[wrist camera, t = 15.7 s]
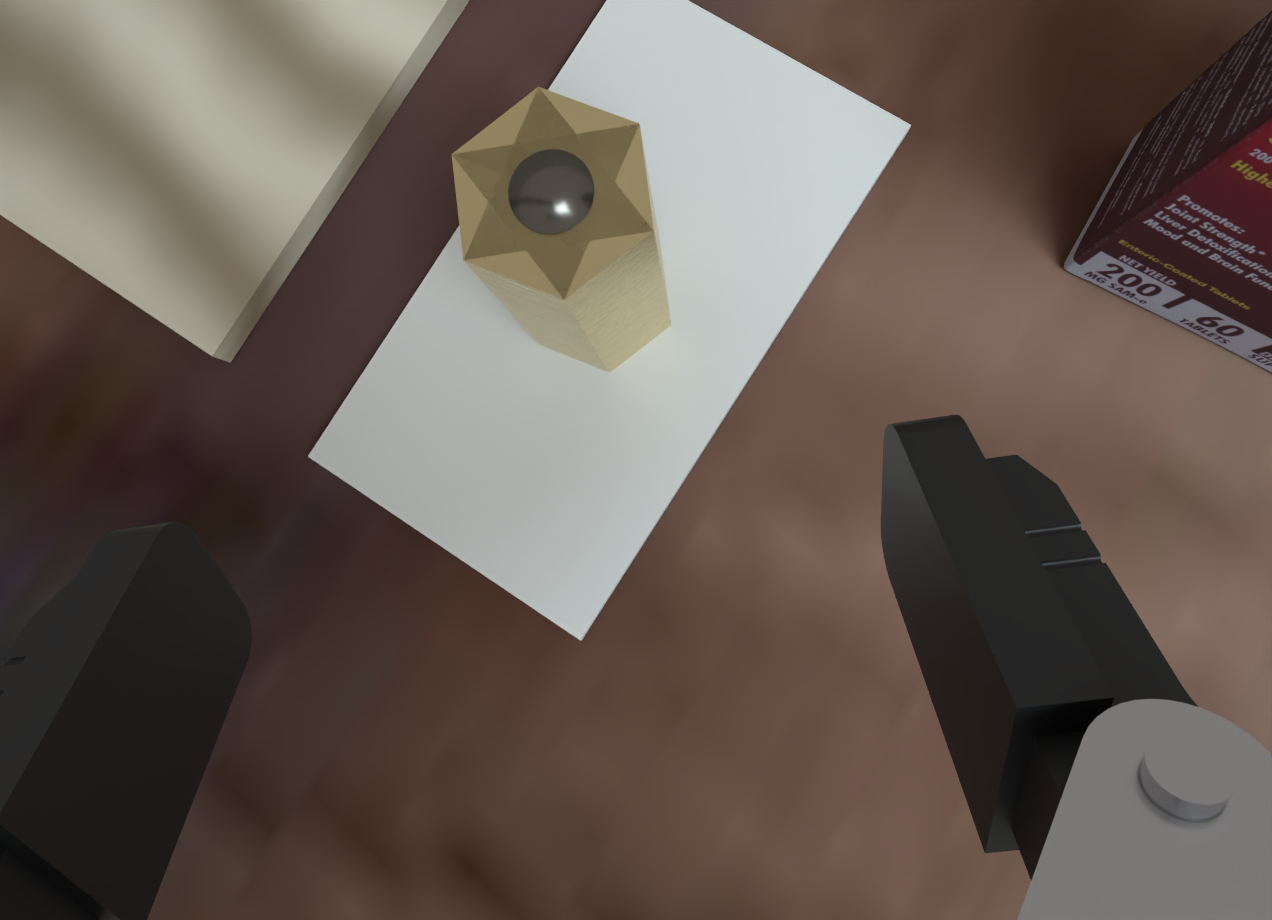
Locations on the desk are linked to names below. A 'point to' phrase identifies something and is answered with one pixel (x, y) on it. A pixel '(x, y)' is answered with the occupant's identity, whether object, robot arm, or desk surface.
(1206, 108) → the supplement box
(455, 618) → the desk surface
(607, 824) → the desk surface
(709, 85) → the off-white mat
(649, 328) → the tan faceted block
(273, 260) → the board
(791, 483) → the desk surface
